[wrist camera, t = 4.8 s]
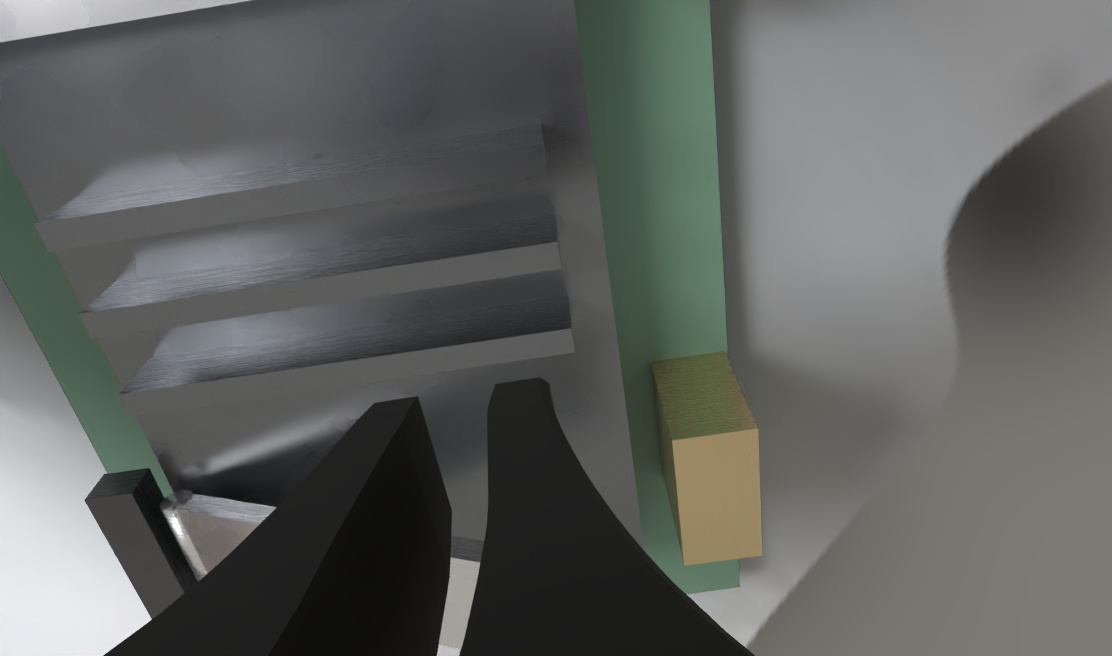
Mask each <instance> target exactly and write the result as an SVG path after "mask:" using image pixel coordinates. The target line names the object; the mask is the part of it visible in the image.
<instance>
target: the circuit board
mask: <svg viewBox="0 0 1112 656" xmlns="http://www.w3.org/2000/svg"><path fill="white" fill-rule="evenodd" d="M574 7H575V14H576V22H577V30H578V38H579V46H580V53H581V61H582V69H583V77H584V84H585V92H586V100H587V108H588V115H589V123H590V131H591V139H592V147H593V154H594V162H595V170H596V178H597V185H598V193H599V201H600V209H601V216H602V224H603V232H604V240H605V248H606V255H607V263H608V271H609V279H610V286H611V294H612V302H613V310H614V317H615V325H616V333H617V341H618V349H619V356H620V364H621V372H622V380H623V387H624V395H625V403H626V411H627V418H628V426H629V434H630V442H631V450H632V457H633V465H634V473H635V481H636V488H637V496H638V504H639V512H640V519H641V527H642V535H643V543H644V551H645V552H646V553H647V554H648V556H649V557H650V558H651V559H652V560H653V561H654V562H655V563H656V564H657V565H658V566H659V568H660V569H661V570H662V571H663V572H664V573H665V574H666V575H667V576H668V577H669V578H670V579H671V580H672V581H673V582H674V583H675V584H676V585H677V586H678V587H679V588H680V589H681V590H682V591H683V592H684V593H685V594H689V593H697V592H705V591H713V590H720V589H728V588H736V587H740V580H739V561H738V559H733V560H725V561H717V562H710V563H702V564H694V565H687V566H684V563H683V558H682V554H681V550H680V546H679V541H678V537H677V533H676V529H675V525H674V520H673V516H672V512H671V508H670V503H669V499H668V495H667V491H666V486H665V482H664V478H663V471H662V462H661V452H660V443H659V433H658V424H657V415H656V405H655V396H654V387H653V377H652V368H651V361H658V360H665V359H672V358H679V357H686V356H693V355H700V354H707V353H714V352H721V351H724V352H725V355H726V357H727V359H728V348H727V329H726V309H725V290H724V271H723V251H722V232H721V212H720V193H719V174H718V154H717V135H716V116H715V96H714V77H713V58H712V38H711V19H710V0H574ZM37 221H39V219H38V217H37V215H36V213H35V210H34V208H33V206H32V204H31V202H30V200H29V198H28V196H27V194H26V192H25V190H24V188H23V186H22V184H21V182H20V180H19V178H18V176H17V174H16V172H15V170H14V168H13V166H12V164H11V162H10V160H9V158H8V156H7V154H6V152H5V150H4V148H3V146H2V144H1V142H0V274H1V276H2V278H3V279H4V281H5V283H6V285H7V287H8V289H9V291H10V292H11V294H12V296H13V298H14V300H15V302H16V304H17V305H18V307H19V309H20V311H21V313H22V315H23V317H24V319H25V320H26V322H27V324H28V326H29V328H30V330H31V332H32V333H33V335H34V337H35V339H36V341H37V343H38V345H39V346H40V348H41V350H42V352H43V354H44V356H45V358H46V359H47V361H48V363H49V365H50V367H51V369H52V371H53V373H54V374H55V376H56V378H57V380H58V382H59V384H60V386H61V387H62V389H63V391H64V393H65V395H66V397H67V399H68V400H69V402H70V404H71V406H72V408H73V410H74V412H75V413H76V415H77V417H78V419H79V421H80V423H81V425H82V427H83V428H84V430H85V432H86V434H87V436H88V438H89V440H90V441H91V443H92V445H93V447H94V449H95V451H96V453H97V454H98V456H99V458H100V460H101V462H102V464H103V466H104V467H105V469H106V471H107V473H108V474H109V473H116V472H123V471H130V470H138V469H145V468H150V470H151V472H152V474H153V476H154V478H155V480H156V482H157V484H158V486H159V488H160V490H161V492H162V494H163V496H164V498H166V497H167V496H168V495H170V494H172V493H174V492H173V490H172V488H171V486H170V484H169V482H168V480H167V478H166V476H165V474H164V472H163V470H162V468H161V466H160V464H159V462H158V460H157V458H156V456H155V454H154V452H153V450H152V448H151V446H150V444H149V442H148V440H147V438H146V436H145V433H144V431H143V429H142V427H141V425H140V423H139V421H138V419H137V417H136V416H132V417H130V416H129V414H128V412H127V410H126V408H125V406H124V404H123V402H122V400H121V398H120V396H119V394H120V392H121V391H122V390H123V389H122V387H121V385H120V383H119V381H118V379H117V377H116V375H115V373H114V371H113V369H112V367H111V365H110V363H109V361H108V358H107V356H106V354H105V352H104V350H103V348H102V346H101V344H100V342H99V340H98V338H95V339H91V337H90V335H89V333H88V331H87V329H86V327H85V325H84V323H83V321H82V319H81V317H80V315H79V313H80V312H82V311H83V308H82V306H81V304H80V302H79V300H78V298H77V296H76V294H75V292H74V290H73V288H72V286H71V283H70V281H69V279H68V277H67V275H66V273H65V271H64V269H63V267H62V265H61V263H60V261H59V259H58V257H57V255H56V253H55V251H50V252H48V251H47V249H46V247H45V245H44V243H43V241H42V239H41V237H40V235H39V233H38V231H37V229H36V227H35V225H34V223H35V222H37Z"/></svg>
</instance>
